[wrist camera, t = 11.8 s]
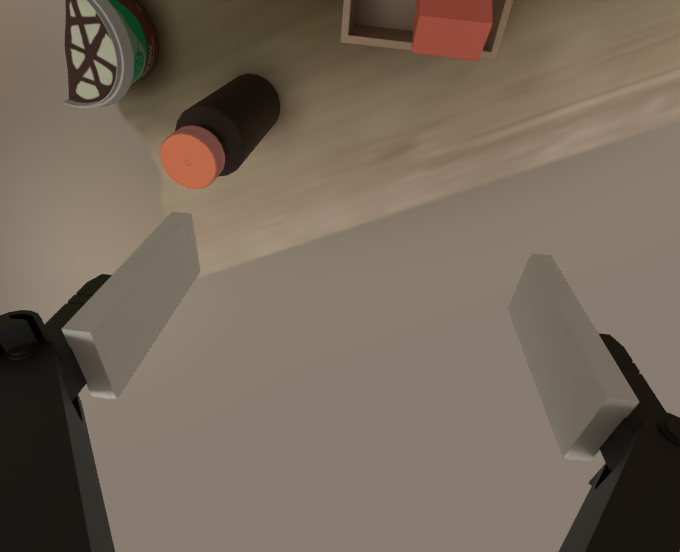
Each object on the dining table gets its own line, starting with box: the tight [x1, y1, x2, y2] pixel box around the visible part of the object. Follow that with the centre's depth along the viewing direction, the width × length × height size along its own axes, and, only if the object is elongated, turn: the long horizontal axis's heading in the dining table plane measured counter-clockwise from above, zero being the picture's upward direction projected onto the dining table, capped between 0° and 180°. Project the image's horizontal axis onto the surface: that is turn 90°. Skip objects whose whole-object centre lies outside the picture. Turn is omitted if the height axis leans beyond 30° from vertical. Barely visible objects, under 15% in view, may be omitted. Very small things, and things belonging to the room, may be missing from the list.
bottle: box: [160, 74, 280, 189], centre depth 42 cm, size 7×7×20 cm
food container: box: [62, 0, 159, 108], centre depth 43 cm, size 12×6×10 cm, turn 159°
